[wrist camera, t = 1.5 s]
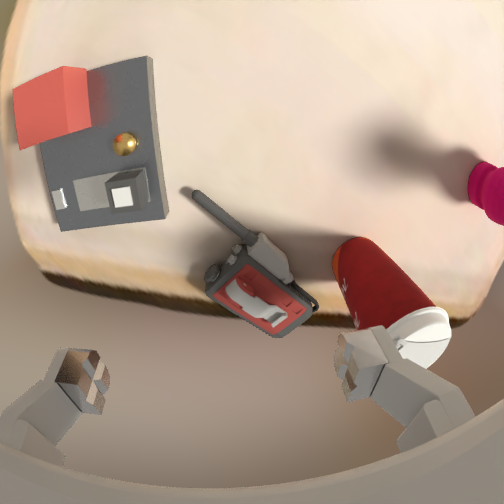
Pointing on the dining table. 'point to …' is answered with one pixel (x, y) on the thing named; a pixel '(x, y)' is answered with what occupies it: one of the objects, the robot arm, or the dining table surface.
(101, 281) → the dining table surface
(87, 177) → the panel
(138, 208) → the block
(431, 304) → the coffee cup
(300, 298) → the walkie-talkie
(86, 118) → the cap
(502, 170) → the pepper mill
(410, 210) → the dining table surface
